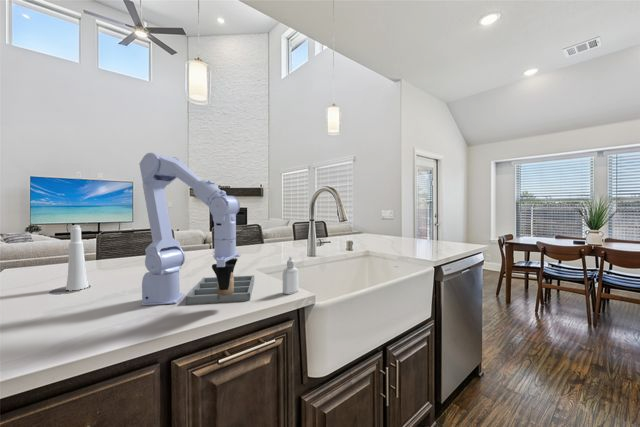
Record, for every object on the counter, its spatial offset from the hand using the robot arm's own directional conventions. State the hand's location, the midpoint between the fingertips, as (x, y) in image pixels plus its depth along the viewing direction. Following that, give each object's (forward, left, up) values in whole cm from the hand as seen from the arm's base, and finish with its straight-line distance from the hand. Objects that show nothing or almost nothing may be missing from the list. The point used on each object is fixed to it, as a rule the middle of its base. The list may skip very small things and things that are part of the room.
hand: (225, 286), depth 77 cm
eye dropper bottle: (+19, +11, -6) cm, 23 cm away
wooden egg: (0, 0, -2) cm, 2 cm away
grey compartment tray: (-3, +16, -6) cm, 17 cm away
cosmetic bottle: (-54, +28, -6) cm, 61 cm away
